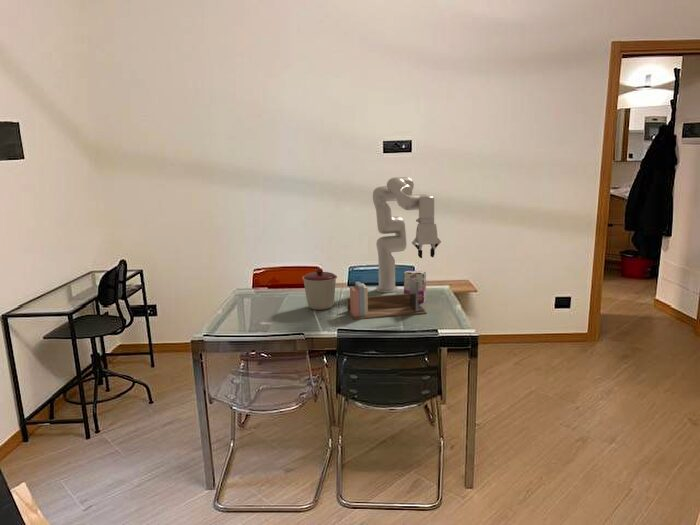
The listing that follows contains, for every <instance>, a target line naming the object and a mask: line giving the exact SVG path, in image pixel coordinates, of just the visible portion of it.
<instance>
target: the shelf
mask: <svg viewBox="0 0 700 525" xmlns="http://www.w3.org/2000/svg"><path fill="white" fill-rule="evenodd" d="M346 300H347V313H348V314H349V316H350V317H351V318H352V319H353V320H354V321H355V320H364V319H375V318H376V319H378V318H390V317H404V316H414V315H415V316H416V315H427V311H426V310H425V311H417V312H416V311H415V310H413V309H412V308H411V307H410V294H404V293H402V294H401V293H400V294H389V295H388V294H386V295H373V296H368V316H357V317H354V316H353V314H352V313H351V309H350V297H347V299H346Z"/></svg>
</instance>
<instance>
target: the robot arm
mask: <svg viewBox="0 0 700 525" xmlns="http://www.w3.org/2000/svg"><path fill="white" fill-rule="evenodd" d="M414 186H415V185H414V181H413V179H412V178H410V177H409V176H402V177H401V176H398V177H397V176H396V177H392V178H389V179H388V180H387V183H386V185H383V186H378V187H376V188H374V190H372V191H373V192H372V202H373V205H374V208H375V212H376V213H375V214H376V223H377V226H376V227H377V231H378V233H379V234H382V235H385V236H381V237H378V239H377V240H376V249H377V256H378V257H377V258H378V286H377V287H376V288H375V290H376V291H377V292H378V293H385V294H387V293H394V292H397V291H398V290H399V288H398V286H396V260H395V258H394V256H393V255H392V253H401V252H403V251H405V250H406V248H407V233H406V232H407V231H406V224H405V220H404V218H402V216H393V215H392V208H391V207H390V205H389V203H388V202H397V205H398V206H399V207H401V209H403V210H405V211H417V210H418V218H416V219H415V222H416V223H417V226H416V230H415V231H416V232H415V237H414V239H413V241H412V242H411V244H412V246H414V247H415V248H416V249H417V255H418V258H420V259H422V258H423V250H422V248H423V245H424V246H425V245H430V247H431V248H430V251H429V254H430V256H429V257H431V258H434V257H435V254H436V252H435V250H436V249H437V247H439V245H440V244H441V243H442V241H441V239H440V238H439V237H438V229H437V224H436V223H435V197H434V196H432V195H427V194H413V190H414V188H415V187H414ZM388 234H395V235H388ZM386 235H387V236H386Z"/></svg>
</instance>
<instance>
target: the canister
mask: <svg viewBox="0 0 700 525" xmlns="http://www.w3.org/2000/svg"><path fill="white" fill-rule="evenodd" d="M337 278H338V276H337V275H336V274H335V273H333V272H329V271H324V270H323V268H321V267H319V268H316V270H315V271H313V272H308V273H306V274H305V275H303V276H302V280H303V285H304V290H305V298H306V304H307V306H308V308H309V309H312V310H316V311H317V310H318V311H321V310H322V311H323V310H328V309H331V308H332V307H333V306H334V303H335V294H336V282H337Z"/></svg>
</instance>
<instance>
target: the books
mask: <svg viewBox="0 0 700 525" xmlns="http://www.w3.org/2000/svg"><path fill="white" fill-rule="evenodd" d="M354 284H355V285H353V286H349V298H350V309H351V313H352V314H353V316H354V317H357V316H368V297H369V296H368V293H369V292H368V287H367V285H366V284H365V283H363V282H362V283H361V282H360V281H355V282H354Z"/></svg>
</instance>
